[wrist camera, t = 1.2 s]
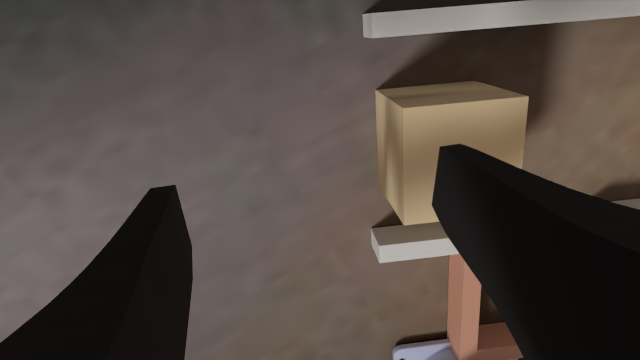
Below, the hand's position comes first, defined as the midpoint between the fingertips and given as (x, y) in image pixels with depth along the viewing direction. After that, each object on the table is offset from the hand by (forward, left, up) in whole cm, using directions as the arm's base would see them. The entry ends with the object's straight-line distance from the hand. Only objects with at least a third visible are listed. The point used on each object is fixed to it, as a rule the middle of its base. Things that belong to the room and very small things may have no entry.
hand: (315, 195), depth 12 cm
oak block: (-1, -6, -10) cm, 12 cm away
